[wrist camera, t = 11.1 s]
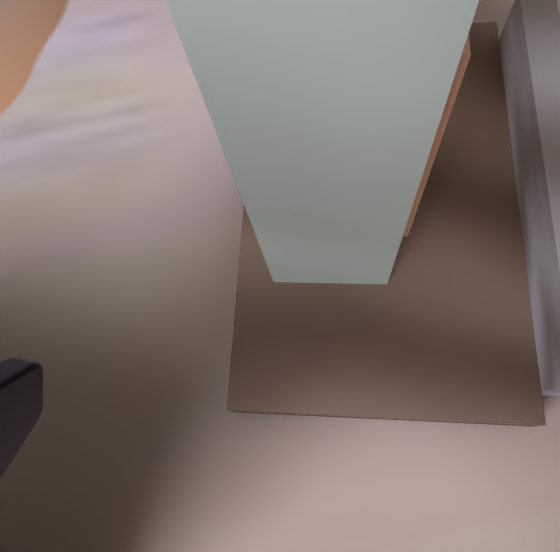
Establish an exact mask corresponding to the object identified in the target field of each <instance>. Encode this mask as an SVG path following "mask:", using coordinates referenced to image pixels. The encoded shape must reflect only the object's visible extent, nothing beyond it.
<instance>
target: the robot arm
mask: <svg viewBox="0 0 560 552" xmlns="http://www.w3.org/2000/svg"><path fill="white" fill-rule="evenodd" d="M42 405H43V369H42V366H41V365H40V364H39V363H38V362H35V361H31V360H27V359H22V358H17V357H15V358H10V359H7V360H3V361H0V479H1V477H2V476H3V474H4V472H5V471H6V469H7V468H8V466H9V465H10V463H11V461H12V460H13V458H14V457H15V455H16V454H17V452H18V450H19V449H20V447H21V446H22V444H23V443H24V441H25V439H26V438H27V436H28V435H29V433H30V432H31V430H32V428H33V427H34V425H35V424H36V422H37V420H38V419H39V416H40V414H41V411H42Z"/></svg>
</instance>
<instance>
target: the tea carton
mask: <svg viewBox="0 0 560 552" xmlns="http://www.w3.org/2000/svg"><path fill="white" fill-rule="evenodd" d="M166 2H167V5H168V7H169V10H170V13H171V15H172V18H173V20H174V23H175V26H176V28H177V31H178V34H179V36H180V39H181V41H182V44H183V47H184V49H185V52H186V54H187V57H188V60H189V62H190V65H191V67H192V70H193V73H194V75H195V78H196V81H197V83H198V86H199V88H200V91H201V94H202V96H203V99H204V101H205V104H206V107H207V109H208V112H209V114H210V117H211V120H212V122H213V125H214V128H215V130H216V133H217V135H218V138H219V141H220V143H221V146H222V148H223V151H224V154H225V156H226V159H227V161H228V164H229V167H230V169H231V172H232V175H233V177H234V180H235V182H236V185H237V188H238V190H239V193H240V195H241V198H242V201H243V203H244V206H245V209H246V211H247V214H248V216H249V219H250V222H251V224H252V227H253V229H254V232H255V235H256V237H257V240H258V242H259V245H260V248H261V250H262V253H263V256H264V258H265V261H266V263H267V266H268V269H269V271H270V274H271V276H272V279H273V282H291V283H343V284H388V281H389V277H390V274H391V271H392V268H393V265H394V262H395V259H396V256H397V253H398V250H399V247H400V243H401V240H402V237H403V236H408V234H409V231H410V229H411V226H412V223H413V220H414V217H415V214H416V211H417V208H418V206H419V203H420V200H421V197H422V194H423V191H424V188H425V185H426V183H427V180H428V177H429V174H430V171H431V168H432V165H433V162H434V160H435V157H436V154H437V151H438V148H439V145H440V142H441V139H442V137H443V134H444V131H445V128H446V125H447V122H448V119H449V116H450V113H451V111H452V108H453V105H454V102H455V99H456V96H457V93H458V90H459V88H460V85H461V82H462V79H463V76H464V73H465V70H466V67H467V65H468V62H469V59H470V56H471V52H470V41H469V30H470V27H471V24H472V21H473V18H474V15H475V12H476V9H477V5H478V2H479V0H166Z"/></svg>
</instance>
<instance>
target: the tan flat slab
mask: <svg viewBox="0 0 560 552" xmlns="http://www.w3.org/2000/svg"><path fill="white" fill-rule="evenodd" d="M469 41H470V52H471V56H470V59H469V62H468V65H467V67H466V70H465V73H464V76H463V79H462V82H461V85H460V88H459V90H458V93H457V96H456V99H455V102H454V105H453V108H452V111H451V113H450V116H449V119H448V122H447V125H446V128H445V131H444V134H443V137H442V139H441V142H440V145H439V148H438V151H437V154H436V157H435V160H434V162H433V165H432V168H431V171H430V174H429V177H428V180H427V183H426V185H425V188H424V191H423V194H422V197H421V200H420V203H419V206H418V208H417V211H416V214H415V217H414V220H413V223H412V226H411V229H410V231H409V234H408V236H403V237H402V240H401V243H400V247H399V250H398V253H397V256H396V259H395V262H394V265H393V268H392V271H391V274H390V277H389V281H388V284H343V283H291V282H273V279H272V276H271V274H270V271H269V269H268V266H267V263H266V261H265V258H264V256H263V253H262V250H261V248H260V245H259V242H258V240H257V237H256V235H255V232H254V229H253V227H252V224H251V222H250V219H249V216H248V214H247V211H246V209H245V206H244V213H243V225H242V237H241V248H240V260H239V272H238V284H237V296H236V308H235V320H234V332H233V343H232V355H231V367H230V379H229V391H228V403H227V410H229V411H232V412H242V413H263V414H284V415H305V416H326V417H347V418H368V419H389V420H410V421H431V422H452V423H473V424H494V425H515V426H539V425H546V423H545V415H544V407H543V398H542V396H558V397H560V20H559V15H558V9H557V4H556V0H515V2H514V5H513V7H512V10H511V12H510V15H509V17H508V20H507V22H506V25H505V27H504V29H503V32H502V34H501V37H500V39H498V30H497V22H488V23H472V24H471V27H470V30H469Z"/></svg>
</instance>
